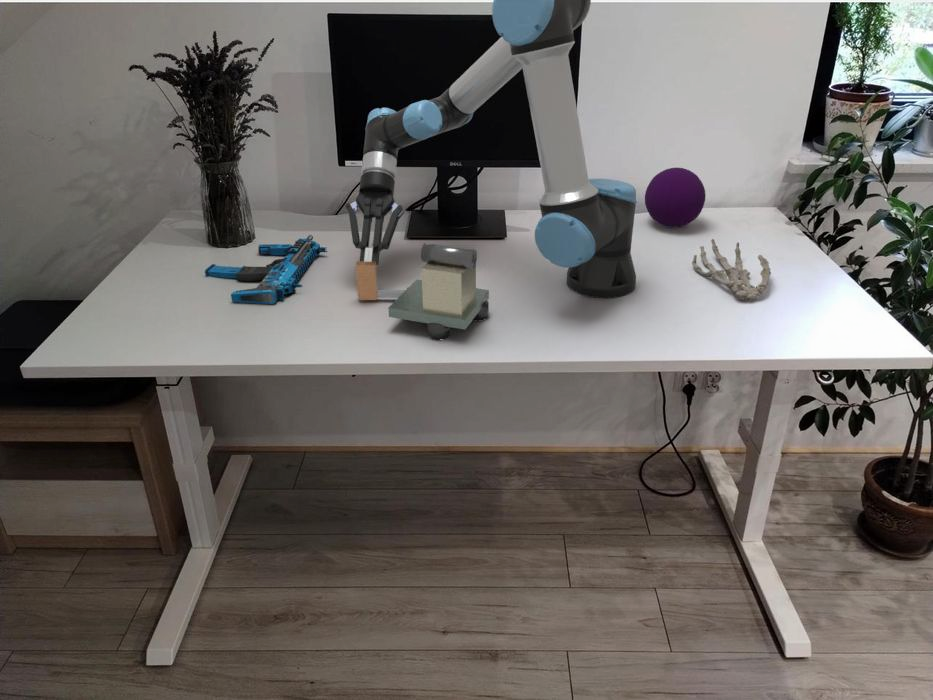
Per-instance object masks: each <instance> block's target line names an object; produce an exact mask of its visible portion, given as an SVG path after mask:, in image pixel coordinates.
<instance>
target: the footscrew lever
mask: <svg viewBox="0 0 933 700" xmlns="http://www.w3.org/2000/svg"><path fill="white" fill-rule="evenodd" d="M354 265H355V276H356V277H355V278H356V286H357V287H356V288H357V290H356V291H357V299H358V301H378V299H398V298H399V297H400V296H401V295H402V294H403V293H404V292H405V291H406V290H407V289H408V288H409V287H410V286H408V287H407V288H406V289H379V288H378V284H379V283H378V274H377V273H378V272H377V265H376V262H365V261H360V260H359V261H356V263H355V264H354Z"/></svg>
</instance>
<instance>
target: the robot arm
mask: <svg viewBox="0 0 933 700" xmlns="http://www.w3.org/2000/svg"><path fill="white" fill-rule="evenodd" d="M591 2H592V0H493V2H492V8H491V10H492V11H491V12H492V13H491V14H492V16H491V17H492V22H493V26H494V28H495V30H496V32H497V34H498V35H499V36H500V37H499V39H498V40H497V41H495V42H494V43H493V45H491V46H490V47H489V48H488V49H487V50H486V51H485V52H484V53H483V54H482V55H481V56H480V57H479V58H478V59H477V60H476V61H475V62H474V63H473V64H472V65H470V67H469V68H468V69H466V71H464V72H463V74H461V75H460V77H459V78H457V79H456V80H455V81H454V82H453V83H452V84H451V85H450V86H449V88H448V87H447V89H446V90H445V91H443V93H442V94H441V95H440V96H438V97H435V98H432V99H429V100H427V99H424V100H423V99H422V100H420V101H416V102H414V103H413V102H412V103H411V104H409V105H407V106H406V107H404V108H402V109H400V110H398V111H396V110H394V109H391V108H389V107H381V108H379V107H377V108H374V109H372V110H371V111H370V112H369V113H368V115H367V122H366V124H365V125H366V126H365V129H364V130H365V135H364V144H363V157H362V163H361V173H360V174H361V175H360V182H359V189H358V191H359V192H358V194H357V195H356V198H355V201H352V203H349V202H347V203H345V204H344V207H345V209H346V210H347V213H348V216H349V224H350V230H351V241H352V244H353V246H354V247H355V248H356V249H360V251H359V252H360V253H359V261H365V262H376V266H378V265H379V263H380V253H381V251H384V250H385V251H386V250H389V248H390V246H391V243H392V240H393V237H394V234H395V232H396V228H397V225H398V223H399V220H400V219H401V218H402V216H403V215H404V214H405V210H404V207H403V206H402V204H397V203H396V200H395V199H394V193H395V179H396V174H397V165H398V164H397V163H398V153H399V150H400V149H404V148H406V147H408V146H410V145H413V144H416V143H419V142H420V141H424V140H427V139H428V138H432V137H434V136H437V135H440V134H443V133H445V132H448V131H451V130H454V129H458V128H461V127H462V126H464V125H466V124H468V123H469V122H470V121H471V120H472V118H473V116H474V113H475V111H477V109H479V108H480V107H481V106H482V105H484V104H485V102H487V100H489V99H490V98H491V97H492V96H493V95H495V94H496V93H497V92H498V91H499V90H500V89H501V88H502V87H504V85H505V84H507V83H508V82H509V81H511V79H513V77H515V76H516V75H517V74H518V73H519V72H520V71H521V70H522V72H523V73H522V74H523V78H524V83H525V89H526V94H527V99H528V103H529V104H528V105H529V109H530V116H531V121H532V126H533V132H534V137H535V142H536V148H537V154H538V159H539V164H540V170H541V175H542V181H543V186H544V193H543V194H542V196H541V198H540V199H539V208H540V214H541V218H540V219H539V220H538V222H537V225H536V226H535V229H534V240H535V244H536V246H537V249H538V251H539V252H540V254H541V255H542V256H543V258H545V259H547V260H549V262H550V263H551V264H553V265H555V266H558V267H561V268H567V271H566V279H565V281H566V285H567V287H568V288H569V289H570V290H571V291H573V292H575V293H577V294H580V295H583V296H586V297H590V298H597V299H598V298H599V299H610V298H611V299H612V298H613V299H614V298H618V297H623V296H627V295H628V294H630V293H632V292H633V291H634V290H635V288H636V284H637V274H636V270H635V266H634V261H633V258H632V254H631V252H632V251H631V249H632V243H633V242H632V241H633V233H634V221H635V213H636V204H637V203H638V202H637V191H636V188H635V186H633V185H632V184H631V183H628V182H625V181H622V180H617V179H610V178H609V179H608V178H589V176H588V170H587V163H586V156H585V151H584V144H583V138H582V131H581V126H580V120H579V114H578V108H577V102H576V94H575V90H574V83H573V77H572V70H571V65H570V57H569V54H570V51H571V49H572V48H573V46H574V44H575V43H576V41H575V37H574V31H575V30H576V29H577V28H578V27H580V26H581V25H582V23H583V22H584V21H585V20H586V19H587V16H588V15H589V12H590V7H591V4H592V3H591ZM358 208H359V209H360V211H361V212H362V215H363V221H362V223H363V224H362V228H361V229H362V231H361V238H360V232H359V230H360V229H359V224H358V218H357V214H356V213H358ZM390 211H391V215H390V218H389V220H388V223H387V226H386V229H385V231H384V234H383V230H384V229H383V228H384V227H383V226H384V223H385V222H384V221H385V217H386V215H388V213H389V212H390ZM373 219H375V222H374V230H373V231H374V232H373V240H372V245H371V246H372V247H370V246H369V245H370V237H371V229H372V223H373Z"/></svg>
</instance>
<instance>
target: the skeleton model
mask: <svg viewBox="0 0 933 700" xmlns="http://www.w3.org/2000/svg"><path fill="white" fill-rule="evenodd" d="M710 242H711V244H712V246H711V248H712V251H713V252H712V253H713V254H714V255H715V257H716V259H717V260H718V262H719V263H720V264H721V266H722V267H723V268H724V269H720V270H719V269H716V268H715V266H714V265H713V263H711V262H709V261H708V259H707V252H706V250H705V247H704V245H702V246H699V249H700V257H701V260H702V263H703V265H704V266H705V268H706V269H707V270H709V271H703V269H702V268H701V267H700V266H697V257H698V256H697V254H694V255H693V258H692V261H691V265H692V266H693V268H694V270H695V271H696V273H699V274H701V275H702V276H703V277H706V278H711V279H712V280H713V281H716V282H718V284H719V283H720V284H721V285H723V286H726V287H728V288H729V289H731V291H732V294H734V296H735V298H737V299H738V300H740V301H741V300H744V301H753V302H754V301H755V300H757V299H758V298H759V297H760V295H763V293H764V292H765V291H766V290H767V289H768V285H769V281H770V276H771V273H772V272H771V268H770V265H769V264H770V263H769V261H768V260H767V258H765V257H764V256H763V255H762V254H759V255H757V259H758V260H759V262H760V264H759V265H760V266H761V267H762V270H761V272H760V275H761V278H762V279H761V282H760V283H759V284H758V285H756V286H754V285H753V284H751V283H750V280H749V279H748V278H749V276H750V275H751V272H750V271H748V269H746V268H743V261H742V257H741V253H742V252H741V249H740V242H736V245H735V247H736V248H735V249H734V252H735V253H734V254H735V260H734V261H735V262H734V265H735V266H732V265H731V264H729V261H728V259H727V258H726V257H725V256H723V255H722V254H721V253H720V251H719V248H718V246H717V244H716V242H715V239H714V238H711V241H710ZM725 271H726V272H725ZM738 277H739V278H740V279H739V278H738ZM728 278H729V279H728Z"/></svg>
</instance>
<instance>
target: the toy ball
mask: <svg viewBox="0 0 933 700" xmlns="http://www.w3.org/2000/svg"><path fill="white" fill-rule="evenodd" d="M705 202H706V188H705V186H704V183H703V182H702V180H701V179H700V177H699V176H698V175H697V174H696V173H695V172H693V171H691V170H690V169H687V168H684V167H670V168H667V169H664V170H662V171H660V172H658V173H657V174H656V175H655V176H653V178H652V179H651V180H650V182H649V184H648V185H647V188H646V190H645V193H644V205H645V208H646V210H647V213H648V215H649V217H651V219H653V221H655V222H656V223H657V224H659V225H661V226H663V227H668V228H680V227H681V228H682V227H684V226H686V225H688V224H690V223H692V222H693V221H694V220H696V219H697V218H698V217H699V215H700V214H701V212H702V210H703V208H704V206H705Z"/></svg>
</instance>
